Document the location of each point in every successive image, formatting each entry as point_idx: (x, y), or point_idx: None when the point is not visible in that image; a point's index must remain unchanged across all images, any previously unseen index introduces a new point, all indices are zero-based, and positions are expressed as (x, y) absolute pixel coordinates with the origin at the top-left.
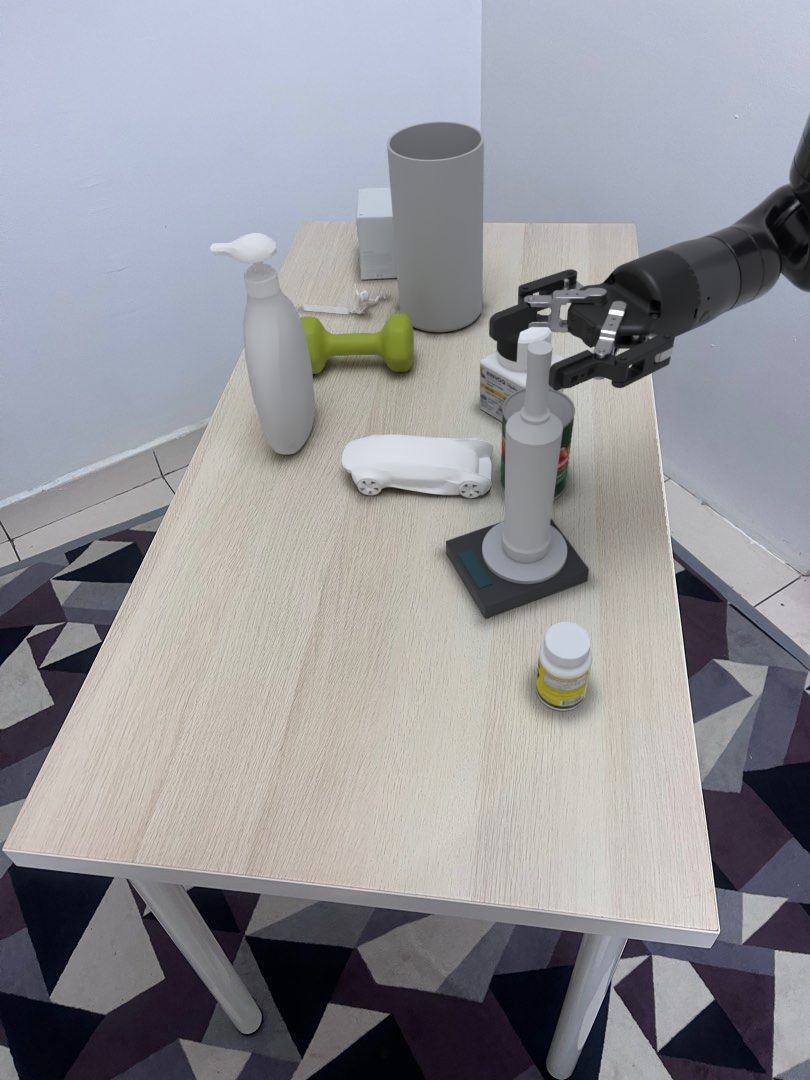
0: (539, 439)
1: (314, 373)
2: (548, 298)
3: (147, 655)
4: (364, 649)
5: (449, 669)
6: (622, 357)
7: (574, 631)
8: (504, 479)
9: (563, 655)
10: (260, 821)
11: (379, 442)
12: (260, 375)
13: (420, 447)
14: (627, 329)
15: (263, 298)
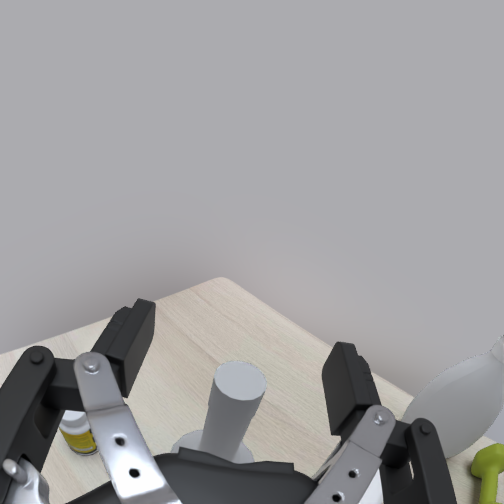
0: (181, 441)
1: (471, 469)
2: (367, 448)
3: (279, 328)
4: (208, 393)
5: (154, 414)
6: (36, 351)
7: (68, 413)
8: None
9: None
10: (163, 313)
11: (379, 474)
12: (440, 374)
13: (360, 501)
14: (92, 491)
15: (492, 352)
